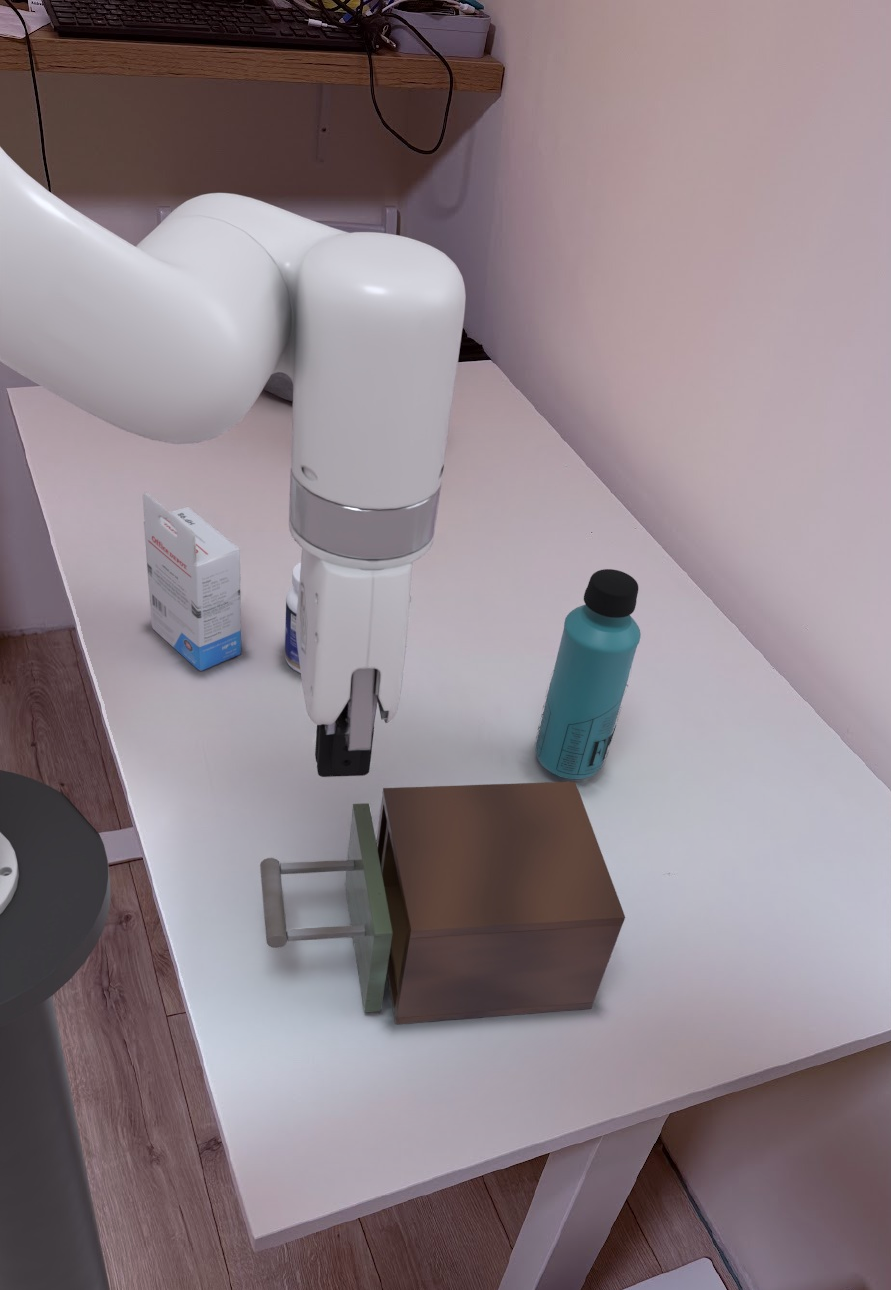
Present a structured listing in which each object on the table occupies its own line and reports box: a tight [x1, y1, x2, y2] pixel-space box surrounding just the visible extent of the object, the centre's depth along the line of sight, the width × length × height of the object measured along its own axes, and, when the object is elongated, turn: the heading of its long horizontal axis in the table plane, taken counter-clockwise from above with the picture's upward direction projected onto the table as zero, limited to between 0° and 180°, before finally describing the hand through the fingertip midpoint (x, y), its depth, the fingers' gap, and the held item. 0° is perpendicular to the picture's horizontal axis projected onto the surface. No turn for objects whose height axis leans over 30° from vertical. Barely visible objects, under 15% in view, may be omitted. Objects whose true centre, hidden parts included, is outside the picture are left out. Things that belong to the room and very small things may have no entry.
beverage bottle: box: [534, 568, 642, 780], centre depth 94 cm, size 6×7×20 cm
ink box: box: [142, 491, 242, 672], centre depth 102 cm, size 9×5×15 cm, turn 42°
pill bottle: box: [284, 561, 301, 674], centre depth 104 cm, size 6×6×10 cm
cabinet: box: [376, 780, 626, 1025], centre depth 82 cm, size 15×13×11 cm
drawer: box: [259, 802, 408, 1013], centre depth 80 cm, size 20×12×9 cm, turn 100°
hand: (341, 766), depth 70 cm, fingers closed
